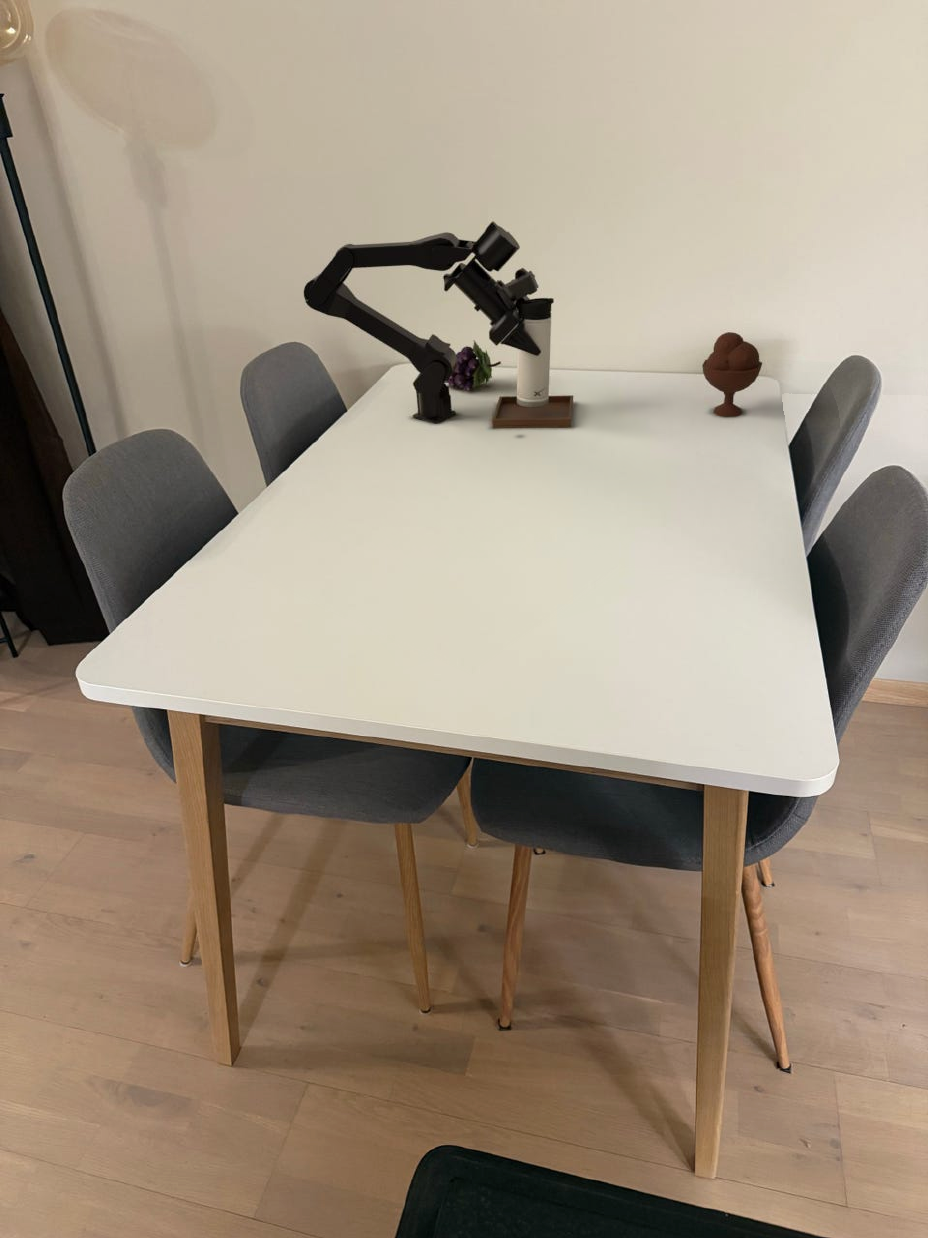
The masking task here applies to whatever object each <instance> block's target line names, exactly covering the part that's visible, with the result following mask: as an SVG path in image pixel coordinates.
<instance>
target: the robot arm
mask: <svg viewBox="0 0 928 1238" xmlns="http://www.w3.org/2000/svg"><path fill="white" fill-rule="evenodd" d="M520 249H521V247H520V243H518V241H517V239H516V238H515V237H514V236H513V235H512V234H511V233H510V232H509V231H506V230H505V229H504V228H503V227H502V226H500V225H498V224H497V223H496V222H495V221H494V220H493V221H491V222H490V223H489V224H488V226H486V228H485V230H484V232H482V234H481V235H480V236H479V237H478V238H477V240H476V241H474V240H468V239H467V240H466V239H460V238H458V237H457V236H456V235H455V233H451V232H447V231H445V232H440V233H437V234H432V235H429V236H425V237H423V238H420V239H415V240H412V241H401V242H382V243H366V244H365V243H364V244H363V243H362V244H354V243H346V244H344V245H343V246H341V247H340V248H338V249H337V251H336V252H335V255H334V256H333V258H331V260H330V261H329V263H328V264H327V265H326V266H325V267H324V268H323V270H322V271H321V272H320V273H319V274H318V275H316V276H315V277H313V278H312V279H311V280H309V281H308V282H307V283H305V286H304V289H303V298H304V302H305V304H306V305H307V306H308V307H309V308H310V309H312V310H314V311H316V312H319V313H322V314H323V315H326V316H330V317H335V318H338V319H342V320H345V321H346V322H348V323H350V324H351V325H354V326H355V327H356V328H358V329H360V330H361V331H363V332H365V333H366V334H368V335H370V336H371V337H373V338H374V339H376V340H378V341H379V342H380V343H382V344H384V345H386V346H388V347H389V348H390V349H392V350H393V351H396V352H397V353H398V354H400V355H402V356H404V357H405V358H407V360H408V361H409V362H410V363H411V365H412V366H413V367H414V368H415V369H416V371H417V372H418V375H417V376H416V377H415V379H414V381H413V382H412V385H413V388H414V389H415V394H416V406H417V412H416V413H414V414H412V418H414V419H416V420H417V419H418V420H421V421H425V422H430V423H433V424H436V423H439V422H441V421H443V420H445V419H449V418H450V417H451V418H452V417H453V416H454V415H456V414H457V412H456V411H455V410H452V396H451V394H450V385H447V383H445V382H446V381H447V380H448V379H449V378H450V377H451V375H452V373H453V371H454V370H455V368H456V365H457V357H456V354H457V353H456V352H455V350H454V349H452V348H451V347H450V346H451V343H449V342H445V341H443V340H442V339H441V338H440V337H439V336H437V335H435V334H433V333H432V334H431V335H430V337H429V338H428V339H426V338H423V337H419V336H418V335H416V334H414V333H413V332H412V331H409V330H408V329H406V328H404V327H403V326H401V325H400V324H398V323H397V322H395V321H393V320H392V319H390V318H389V317H387V316H386V315H384V314H382V313H380V312H379V311H377V310H375V308H373V307H371V306H369V305H368V304H366V303H364V302H363V301H362V300H360V299H358V298H357V297H356V296H355V294H354V293H353V292H352V290H351V289H350V288H349V287H348V286H347V285H346V284H345V282H346V280H347V279H348V277H349V276H350V274H351V272H352V271H353V270H354V269H363V268H365V269H367V268H382V267H383V268H385V267H403V266H404V267H405V266H411V267H412V266H413V267H417V268H421V269H424V270H431V271H436V272H437V271H438V272H446V271H449V270H450V269H452V268H453V267H454V265H456V263H459V264H458V265H457V266H456V267H455V268H454V270H453V271H452V272H451V273H444V274H443V276H442V279H443V290H444V292H449V290H450V289H451V288H452V287H453V286H455V287H457V289H458V290H459V291H460V292H461V293H463V295H464V296H465V297H467V299H468V300H469V301H470V302H471V303H472V304H473V305H475V306H474V307H473V309H474V310H475V311H476V312H477V313H478V312H481V313H482V314H483V315H484V316H485V317H486V318H487V319H488V320H489V321H490V323H489V325H490V326H491V327H490V329H489V331H488V339H489V341H491V342H492V344H493V345H495V346H496V347H498V345H499V344H500V345H502V346H503V345H505V346H508V347H511V348H514V349H517V350H518V349H519V350H522V351H525V352H528V353H530V354H533V355H536V356H538V355H539V354H540V353H541V350H540V349H539V347H538V346H537V345H536V343H535V342H534V340H533V339H532V338H531V336H530V335H529V334H528V332H527V331H526V329H525V318H524V317H523V318H522V319H521V317H520V315H519V303H522V301H525V300H529V299H530V297H529V296H531V295H533V294H535V293H536V292H538V288H539V284H538V281H537V280H536V275H535V274H534V273H533V271H532V270H529V271H527V270H526V268H524V267H521V268H519V269H518V270H516V271H515V273H514V279H511V281H509V282H507V283H504V282H503V281H502V280H501V279H497V280H495V278H493V276H491V275H490V274H489V273H491V272H493V271H496V272H500V271H501V270H502V269H503V267H504V266H505V265H506V264H507V263H508V262H509V261H510V260H511V259H512V258H513V257H514V255H515V254H516V253H517V252H518V251H519V250H520ZM471 254H474V256H473V257H472V258H471V259H470V260H469V261H468V262H467V264H465V263H464V262H465V261H467V259H468V258H469V257H470V256H471Z"/></svg>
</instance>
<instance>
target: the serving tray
mask: <svg viewBox="0 0 928 1238" xmlns="http://www.w3.org/2000/svg"><path fill="white" fill-rule="evenodd" d="M495 406H496V407H495V409H494V413H493V416H492V419H491V422H492V423H491V425H492V429H557V428H559V429H561V428H564V429H565V428H567V429H568V428H569V429H570V428H572V421H573V411H574V395H573V394H572V395H569V394H568V395H549V401H548V404H547V405H545V406H543V407H537V408H528V407H523V406H520V405H519V404H518V403H517V395H506V396H505V395H499V397H498V400H497V403H496V405H495Z"/></svg>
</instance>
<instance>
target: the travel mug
mask: <svg viewBox="0 0 928 1238" xmlns="http://www.w3.org/2000/svg"><path fill="white" fill-rule="evenodd" d="M554 301H555V300H554V298H553V297H550V298H549V297H536V298H531V299H530V298H529V300H525V301H522V303H519V315H520V317H521V319H522V318H523V317H524V318H525V329H526V331H527V332H528V334H529V335H530V336H531V338H532V339H533V340H534V342H535V343H536V345H537V346H538V347H539V349H540V350H541V353H540V354H539V355H538V356H536V355H533V354H530V353H528V352H525V351H522V350H519V349H517V362H516V363H517V365H516V366H517V367H516V369H517V370H516V371H517V372H516V396H517V403H518V404H519V405H520V406H523V407H528V408H537V407H543V406H545V405H547V404H548V401H549V396H550V370H551V369H550V368H551V367H550V366H551V341H552V340H551V338H552V337H551V336H552V304H554V303H555V302H554Z"/></svg>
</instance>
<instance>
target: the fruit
mask: <svg viewBox="0 0 928 1238" xmlns="http://www.w3.org/2000/svg"><path fill="white" fill-rule="evenodd" d="M456 357H457V365H456V368H455V370H454V371H453V373H452V375H451V377H450V378H449V379H448V380H447V381H446V382H445V384H448V386H451V387H455V386H458V388H459V389H463V390H464V391H465V392H466V391H467V392H471V391H473V390H474V389H475V388H476V387H480V386H482V385H483V384H484V383H485V385H488V382H489V381H490V379H493V375H492V371H493V368H494V367H498V366H499V365H501V364H502V362H501V361H497V362H495V363H491V357H490V355H489V353H488V351H487V350H485V351H484V350H483V349H482V347H480V346H479V345H478V344H477V342H476V340H473V344H472V347H471V346H468V345H467V346H464V347H462V348H461V350H460V351H458V352H457V353H456Z"/></svg>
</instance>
